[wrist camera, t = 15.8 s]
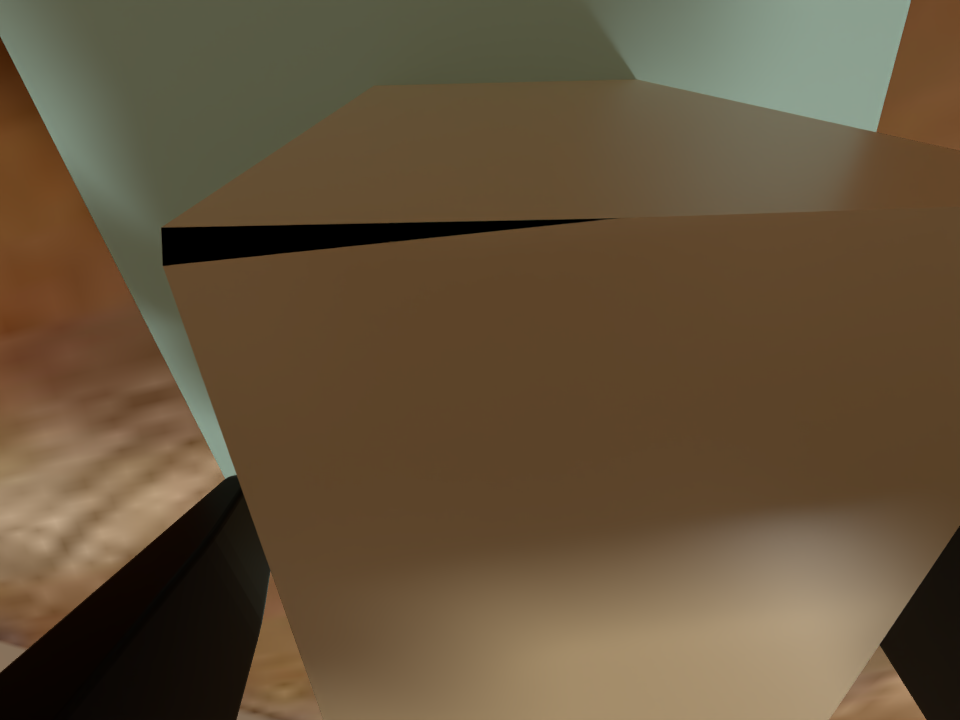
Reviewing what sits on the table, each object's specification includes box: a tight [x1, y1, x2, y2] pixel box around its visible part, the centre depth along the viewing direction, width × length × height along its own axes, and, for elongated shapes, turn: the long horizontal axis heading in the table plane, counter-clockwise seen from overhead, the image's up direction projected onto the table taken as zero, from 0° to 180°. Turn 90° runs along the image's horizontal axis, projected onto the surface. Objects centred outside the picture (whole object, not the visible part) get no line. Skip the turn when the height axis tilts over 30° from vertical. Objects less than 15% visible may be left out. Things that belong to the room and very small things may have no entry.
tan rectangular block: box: [161, 79, 960, 720], centre depth 8 cm, size 4×10×7 cm, turn 1°
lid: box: [0, 0, 911, 479], centre depth 12 cm, size 13×19×3 cm
